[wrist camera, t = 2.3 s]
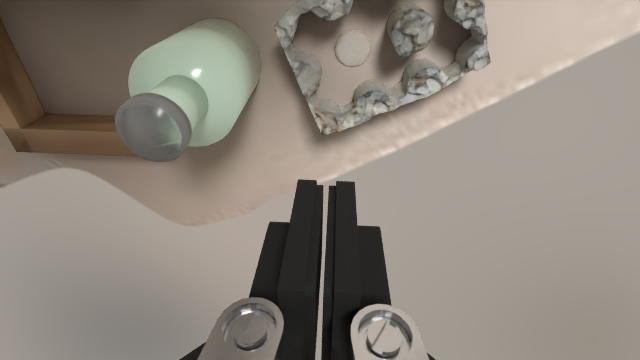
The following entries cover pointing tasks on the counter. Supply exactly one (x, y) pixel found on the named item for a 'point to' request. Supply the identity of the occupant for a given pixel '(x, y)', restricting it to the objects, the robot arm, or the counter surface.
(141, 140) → the bottle
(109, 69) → the counter surface
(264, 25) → the counter surface
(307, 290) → the robot arm
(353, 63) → the egg carton
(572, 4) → the counter surface
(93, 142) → the rest
